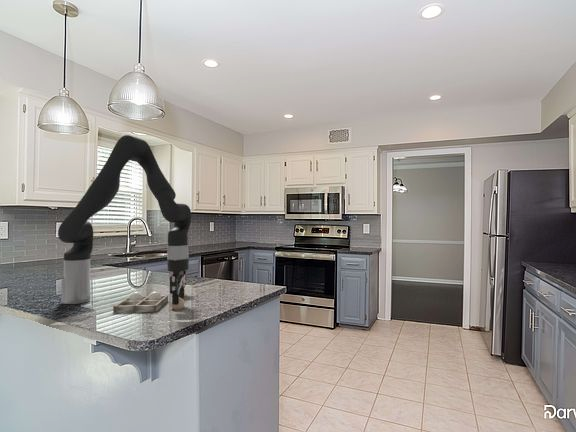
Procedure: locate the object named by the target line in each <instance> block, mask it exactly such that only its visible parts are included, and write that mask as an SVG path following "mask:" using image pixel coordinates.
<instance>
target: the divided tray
mask: <svg viewBox="0 0 576 432" xmlns="http://www.w3.org/2000/svg"><path fill="white" fill-rule="evenodd" d="M148 296H149V295H143V300H136V301H130V300H129V298H130V295H129V296H128V297H126V298H124V299H123V300H121V301H120V302H118V303H116V304H115V305H113V307H112V308H113V309H112V311H113V314H115V313H118V314H120V313H123V314H124V313H150V312H151V313H156V312H157V311H159V310H160V309H161V308H162V307H163V306H164V305H166V304H167V303H168V301H169V295H161V300H148Z"/></svg>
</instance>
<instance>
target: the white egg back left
mask: <svg viewBox="0 0 576 432" xmlns="http://www.w3.org/2000/svg"><path fill="white" fill-rule="evenodd" d="M129 296H130V298H129V300H130V301H136V300H143V296H144V295H143V293H142V292H140V291H133V292H131V294H130V295H129Z"/></svg>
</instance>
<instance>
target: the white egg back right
mask: <svg viewBox="0 0 576 432" xmlns="http://www.w3.org/2000/svg"><path fill="white" fill-rule="evenodd" d="M147 296H148V300H161V296H162V294H161V293H160V292H159V291H157V290H156V291H152V292H150V293H149V294H148V295H147Z"/></svg>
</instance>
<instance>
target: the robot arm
mask: <svg viewBox="0 0 576 432" xmlns="http://www.w3.org/2000/svg"><path fill="white" fill-rule="evenodd" d="M129 161H132V162H136V163H137V164H138V165H139V166H140V167H141V168H142V169H143V171H144V173H145V176H146V182H147V186H148V188H149V190H150V191H151V193H152V194H153V196H154V198H155V199H156V201H157V203H158V207H159V210H160V213H161V214H162V217H163V218H164V219H165V220H166V221H168V222H169V223H173V228H172V229H170V230H168V232H167V251H166V253H167V254H166V255H167V257H166V258H167V260H166V262H167V265H166V267H167V271H168V272H171V273H172V272H173V276H169V294H171V302H172V304H173V305H178V304H179V297H180V298H182V299H183V300H184V298H185V288H186V286H187V280H186V273H187V271H188V270H189V268H190V266H189V264H190V263H189V262H190V261H189V259H190V256H189V255H190V252H189V242H188V241H189V240H188V239H189V238H188V234H189V230H190V225H191V220H192V211H191V210H192V209H191V208H190V206H189V205H187V204H186V203H176V201H175V199H176V197H177V196H176V192H175V190H174V188H173V187H172V185H171V184H170V183H169V181H168V180H167V178H166V176H165V175H164V173H163V172H162V170H161V168H160V166H159V164H158V162H157V159H156V158H155V155H154V153H153V150H152V148H151V147H150V145H149V143H148V141H146V140H144V139H142V138H141V137H140V138H139V137H137V136H135V135H130V134H125V135H123V136H121V137H120V138H119V139H118V140H117V142H116V143H115V145H114V147H113V149H112V150H111V153H110V154H109V156H108V159H107V161H106V162H105V164H104V165H103V167H102V168H101V170H100V171H99V173H98V174H97V176H96V177H95V178H94V180H93V181H92V183H91V184H90V186H89V187H88V189H87V190H86V191H85V192H84V193H85V194H84V195H83V196H82V198H80V200H79V201H78V203H77V205H76V206H75V207H74V208H73V209H72V211H71V212H70V213H69V214H68V215H67V217H66V218H64V220H63V221H62V222H61V224H60V225H59V227H58V230H57V237H58V239H59V240H60V241H61V242H62V243H65V244H73V245H72V247H70V249H69V250H67V251H65V252H64V253H63V278H62V279H61V282H60V283H61V285H60V286H61V291H60V292H61V302H60V303H61V304H65V305H77V304H85V303H87V302H89V301H91V300H92V299H91V294H92V293H91V287H92V286H91V281H92V279H91V254H92V252H93V246H94V228H93V225H92V223H91V222H90V221H89V220H90V219H91V217H93V216H94V215H96V214H98V213H99V212H100V211H102V210H103V209H105V208H106V207H107V206H108V205H109V204H110V203H111V202H112V200H113V199H114V198H115V197H116V195H117V194H118V191H119V190H120V185H121V182H120V181H121V173H122V170H123V169H124V168H125V166H126V164H128V162H129ZM175 288H176V290H175Z"/></svg>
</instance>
